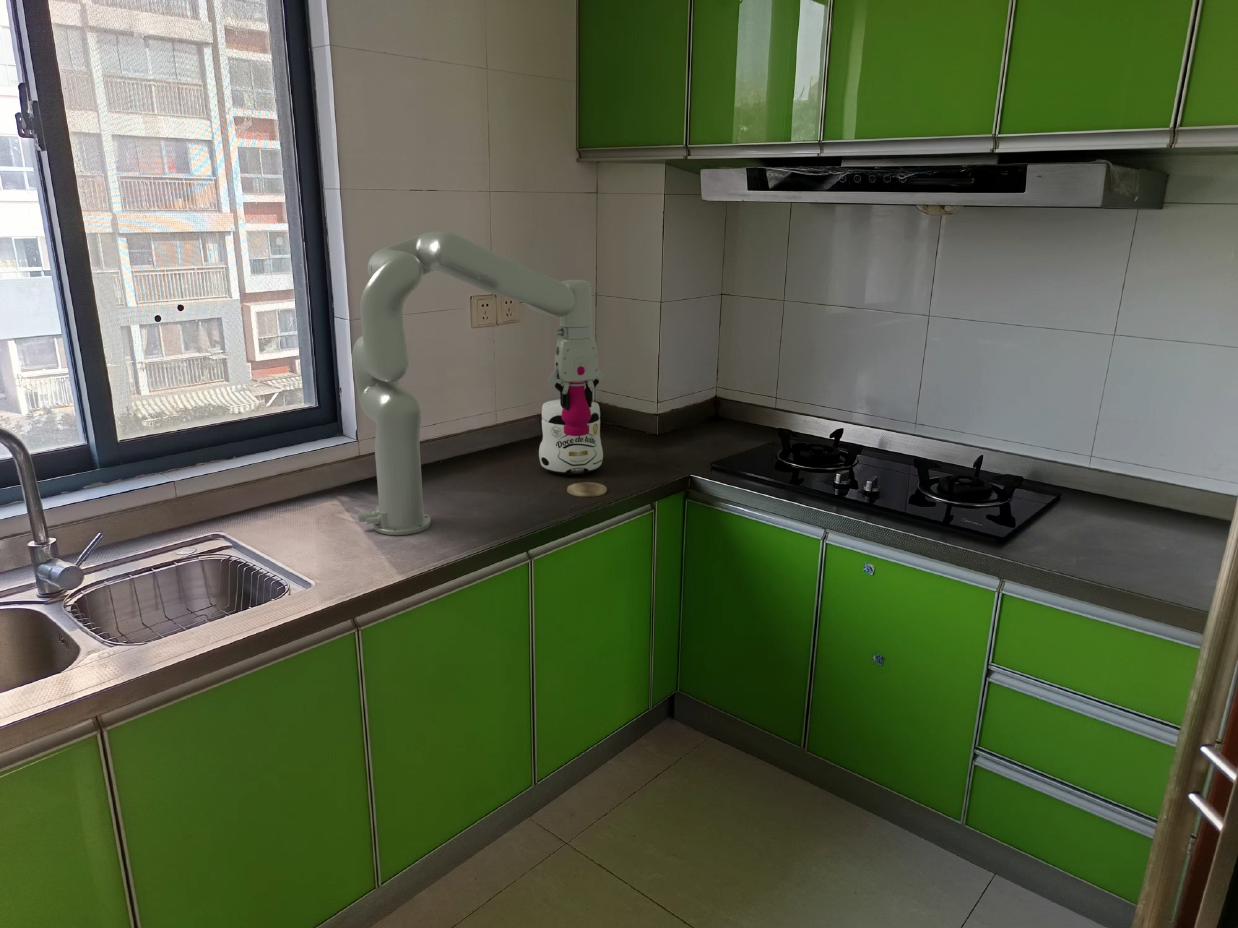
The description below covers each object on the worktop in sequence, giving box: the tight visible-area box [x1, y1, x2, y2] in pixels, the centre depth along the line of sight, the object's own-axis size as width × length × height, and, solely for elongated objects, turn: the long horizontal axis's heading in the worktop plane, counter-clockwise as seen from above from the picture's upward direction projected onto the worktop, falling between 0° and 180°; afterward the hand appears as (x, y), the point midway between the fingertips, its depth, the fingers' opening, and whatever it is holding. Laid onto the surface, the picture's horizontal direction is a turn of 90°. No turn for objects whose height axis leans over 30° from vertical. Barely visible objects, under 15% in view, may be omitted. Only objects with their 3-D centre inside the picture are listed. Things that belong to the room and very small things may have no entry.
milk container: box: [538, 398, 604, 476], centre depth 239 cm, size 17×17×18 cm
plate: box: [566, 481, 608, 498], centre depth 224 cm, size 10×10×1 cm
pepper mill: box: [562, 366, 591, 436], centre depth 215 cm, size 7×7×20 cm
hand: (576, 406), depth 216 cm, fingers closed on pepper mill, 5 cm apart
